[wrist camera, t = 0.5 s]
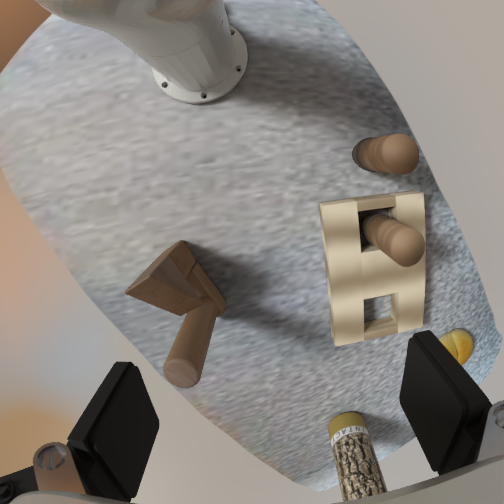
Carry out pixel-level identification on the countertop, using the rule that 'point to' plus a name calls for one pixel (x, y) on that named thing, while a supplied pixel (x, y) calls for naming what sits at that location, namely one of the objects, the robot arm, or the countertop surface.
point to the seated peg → (393, 238)
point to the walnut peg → (387, 154)
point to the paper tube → (355, 457)
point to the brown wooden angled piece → (182, 309)
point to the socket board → (371, 268)
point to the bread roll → (458, 344)
